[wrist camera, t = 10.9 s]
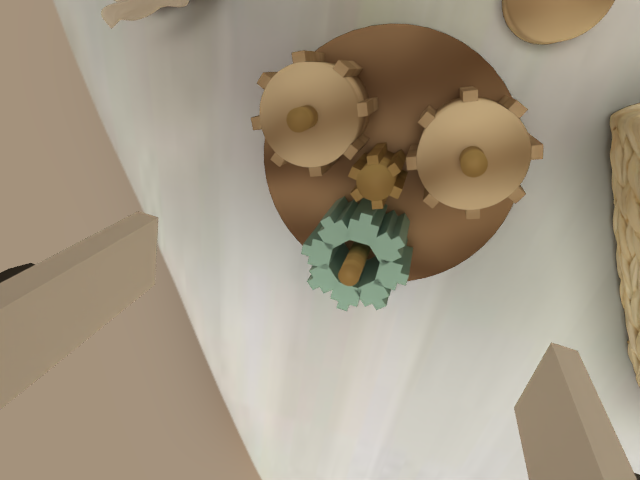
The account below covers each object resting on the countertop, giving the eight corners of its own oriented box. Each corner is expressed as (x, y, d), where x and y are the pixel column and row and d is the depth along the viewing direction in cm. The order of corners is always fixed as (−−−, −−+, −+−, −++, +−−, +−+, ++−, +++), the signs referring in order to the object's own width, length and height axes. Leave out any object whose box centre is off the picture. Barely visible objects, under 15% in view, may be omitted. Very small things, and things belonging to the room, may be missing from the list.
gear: (329, 181, 33) (312, 199, 29) (426, 207, 32) (423, 230, 28) (311, 265, 37) (292, 293, 32) (398, 292, 35) (392, 325, 31)
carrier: (247, 50, 32) (192, 45, 25) (527, -2, 27) (558, -26, 20) (289, 278, 39) (254, 326, 32) (521, 274, 33) (544, 331, 26)
